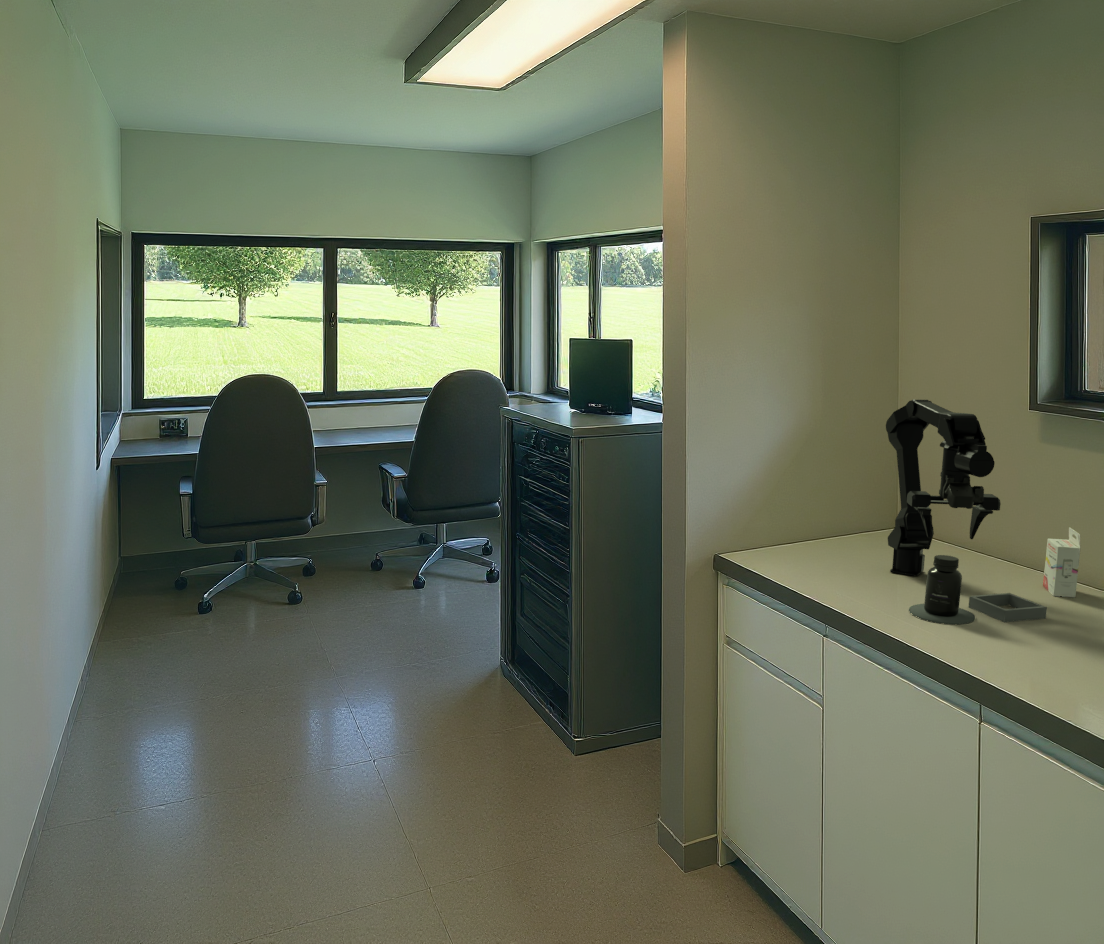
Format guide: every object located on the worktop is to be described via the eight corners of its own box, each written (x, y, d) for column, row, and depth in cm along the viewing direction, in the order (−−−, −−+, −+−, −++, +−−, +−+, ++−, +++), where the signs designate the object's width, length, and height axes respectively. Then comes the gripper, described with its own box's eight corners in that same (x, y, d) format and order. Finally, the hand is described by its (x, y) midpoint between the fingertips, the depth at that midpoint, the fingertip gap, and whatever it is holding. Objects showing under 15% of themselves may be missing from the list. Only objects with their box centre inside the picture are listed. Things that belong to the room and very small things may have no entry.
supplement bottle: (932, 617, 197) (937, 561, 195) (918, 607, 204) (922, 553, 202) (964, 617, 198) (969, 561, 196) (949, 607, 204) (954, 553, 203)
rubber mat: (901, 616, 199) (901, 614, 199) (917, 601, 210) (917, 600, 210) (967, 628, 192) (968, 626, 192) (980, 612, 203) (980, 611, 202)
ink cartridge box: (1041, 586, 224) (1047, 525, 222) (1064, 587, 223) (1070, 526, 221) (1052, 596, 216) (1059, 533, 213) (1076, 598, 215) (1083, 534, 212)
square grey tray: (968, 607, 206) (969, 596, 206) (1008, 603, 209) (1009, 592, 209) (1004, 622, 196) (1005, 610, 196) (1045, 618, 199) (1047, 607, 199)
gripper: (920, 473, 205) (914, 544, 208) (1011, 477, 203) (1004, 548, 205) (908, 466, 216) (903, 533, 219) (995, 469, 213) (989, 537, 216)
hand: (949, 538), depth 214 cm, fingers open, 9 cm apart
